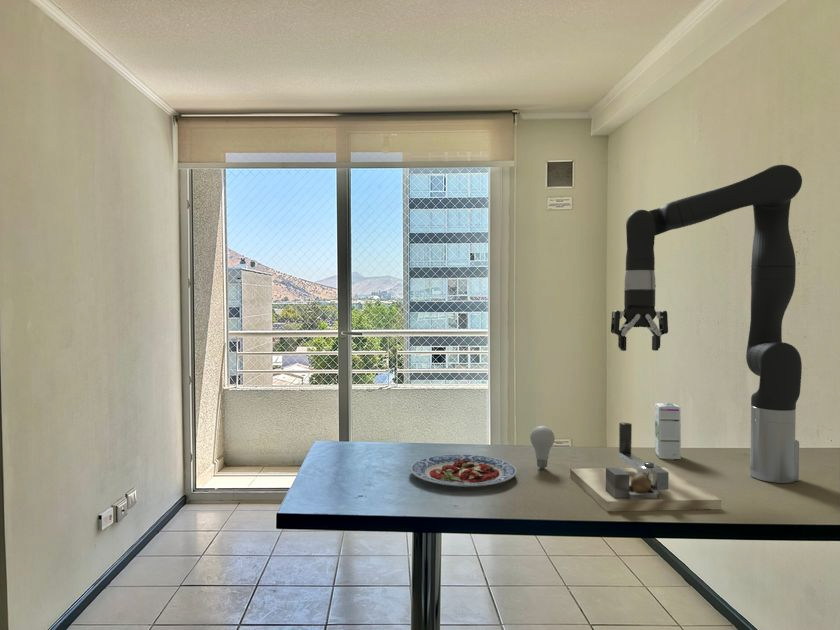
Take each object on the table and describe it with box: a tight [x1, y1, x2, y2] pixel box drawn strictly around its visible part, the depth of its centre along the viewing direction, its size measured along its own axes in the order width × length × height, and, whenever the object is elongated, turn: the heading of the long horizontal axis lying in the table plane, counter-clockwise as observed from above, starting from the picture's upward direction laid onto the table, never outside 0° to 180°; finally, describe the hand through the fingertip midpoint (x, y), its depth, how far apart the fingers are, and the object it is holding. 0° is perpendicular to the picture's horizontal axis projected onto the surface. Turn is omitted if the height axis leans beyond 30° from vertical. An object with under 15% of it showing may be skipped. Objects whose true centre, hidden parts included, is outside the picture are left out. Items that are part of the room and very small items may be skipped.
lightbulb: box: [529, 425, 556, 470], centre depth 144 cm, size 6×6×11 cm
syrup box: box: [654, 402, 682, 460], centre depth 156 cm, size 6×6×14 cm
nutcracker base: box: [569, 467, 722, 512], centre depth 127 cm, size 24×23×7 cm
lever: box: [618, 422, 669, 490], centre depth 128 cm, size 5×21×10 cm, turn 2°
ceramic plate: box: [410, 453, 517, 488], centre depth 138 cm, size 26×26×3 cm
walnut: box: [631, 474, 651, 493], centre depth 119 cm, size 4×4×4 cm
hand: (639, 350), depth 147 cm, fingers open, 8 cm apart
